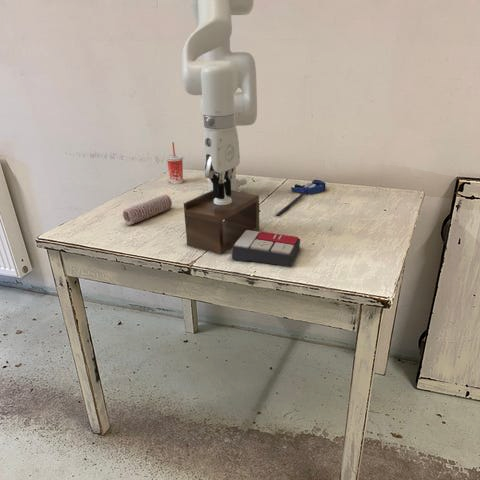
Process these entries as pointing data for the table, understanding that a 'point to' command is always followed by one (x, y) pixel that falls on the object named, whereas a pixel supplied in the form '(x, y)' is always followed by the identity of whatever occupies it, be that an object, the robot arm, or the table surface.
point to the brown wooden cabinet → (220, 220)
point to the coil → (147, 209)
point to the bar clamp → (306, 191)
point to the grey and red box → (266, 248)
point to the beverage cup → (175, 167)
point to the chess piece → (227, 199)
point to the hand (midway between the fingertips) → (222, 195)
